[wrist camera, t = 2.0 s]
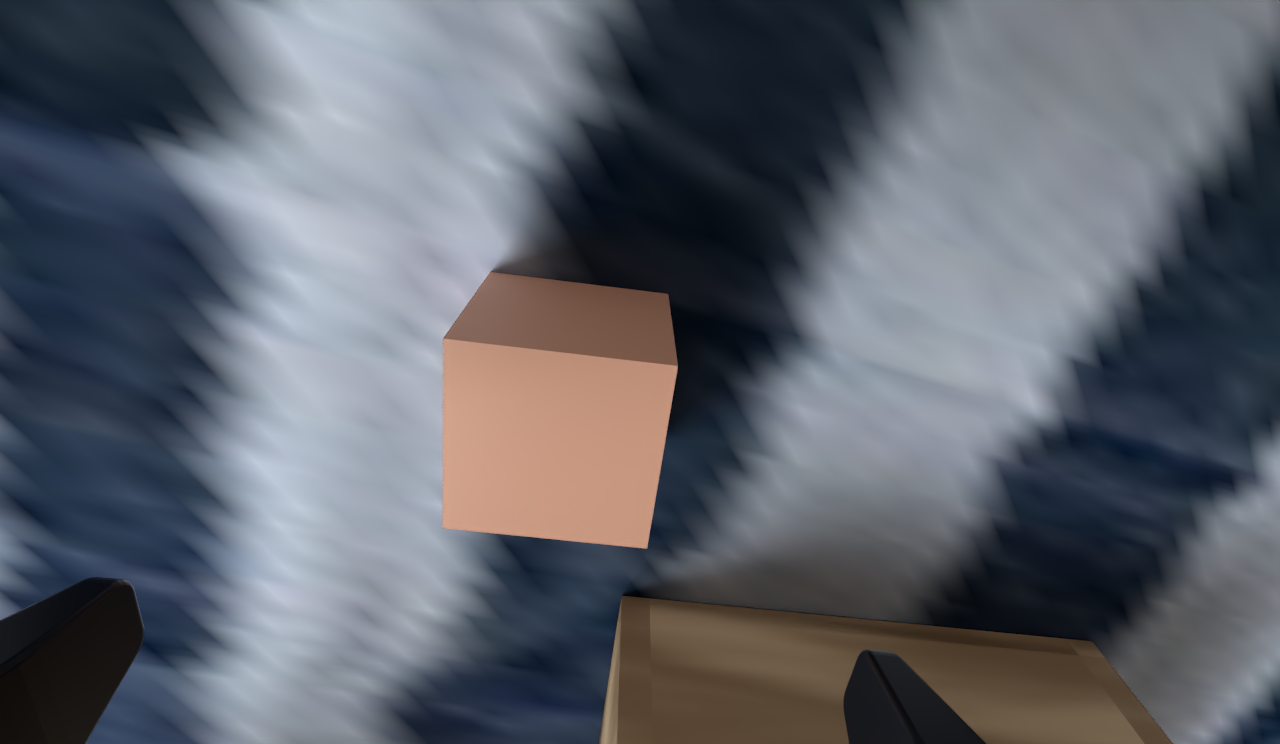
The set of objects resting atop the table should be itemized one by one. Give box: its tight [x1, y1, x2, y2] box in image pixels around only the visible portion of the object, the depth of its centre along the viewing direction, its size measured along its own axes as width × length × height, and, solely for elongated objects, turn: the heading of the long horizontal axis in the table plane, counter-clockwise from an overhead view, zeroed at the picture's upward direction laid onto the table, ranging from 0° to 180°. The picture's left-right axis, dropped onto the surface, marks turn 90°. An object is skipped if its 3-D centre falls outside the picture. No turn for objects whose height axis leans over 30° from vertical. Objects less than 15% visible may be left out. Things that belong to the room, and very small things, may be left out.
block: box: [443, 272, 678, 549], centre depth 14 cm, size 4×4×4 cm
